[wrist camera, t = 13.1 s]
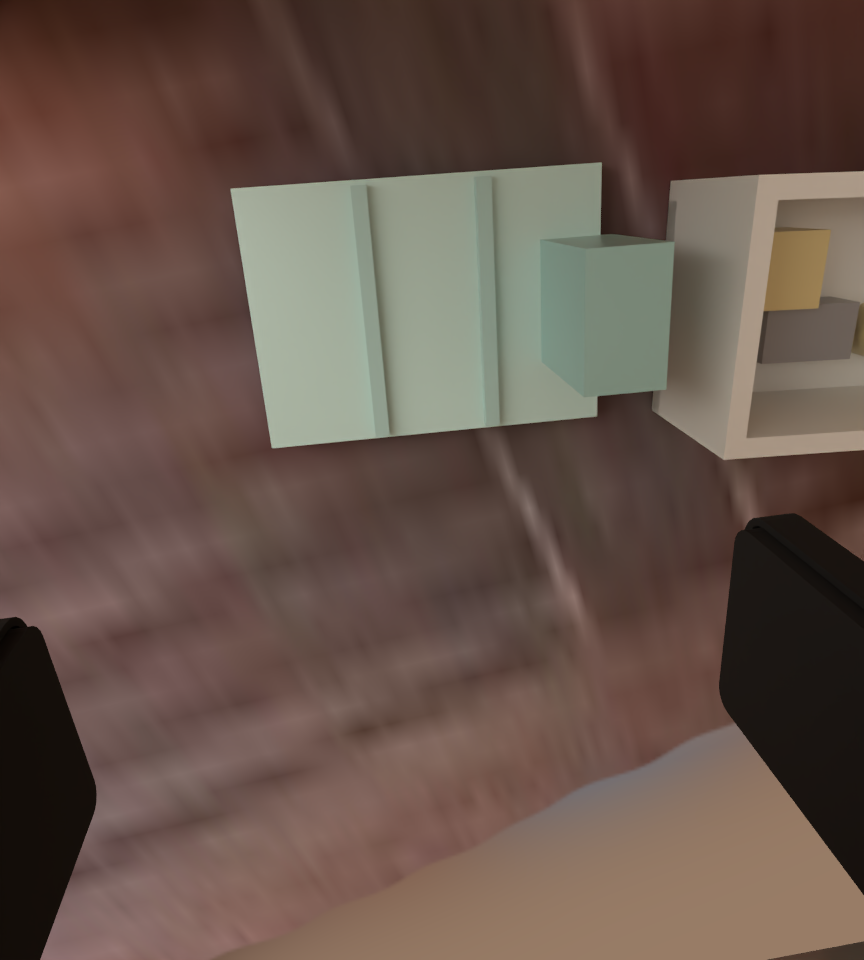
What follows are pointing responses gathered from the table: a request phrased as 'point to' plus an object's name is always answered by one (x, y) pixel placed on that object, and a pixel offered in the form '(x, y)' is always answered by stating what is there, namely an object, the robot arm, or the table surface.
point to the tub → (767, 314)
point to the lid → (447, 302)
